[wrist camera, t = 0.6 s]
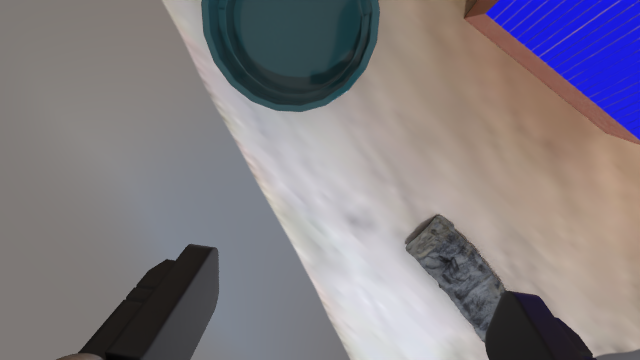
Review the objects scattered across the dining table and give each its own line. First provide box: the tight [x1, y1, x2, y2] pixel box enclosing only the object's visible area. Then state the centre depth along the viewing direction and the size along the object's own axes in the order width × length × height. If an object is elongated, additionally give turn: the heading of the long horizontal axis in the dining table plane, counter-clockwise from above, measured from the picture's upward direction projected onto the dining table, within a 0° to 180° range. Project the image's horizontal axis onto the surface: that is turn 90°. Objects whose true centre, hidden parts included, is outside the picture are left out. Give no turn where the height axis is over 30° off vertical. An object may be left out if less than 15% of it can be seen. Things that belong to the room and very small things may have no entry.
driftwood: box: [406, 216, 505, 342], centre depth 42 cm, size 21×7×2 cm, turn 39°
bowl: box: [201, 0, 380, 112], centre depth 31 cm, size 15×15×6 cm
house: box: [464, 0, 640, 145], centre depth 26 cm, size 12×20×12 cm, turn 56°
